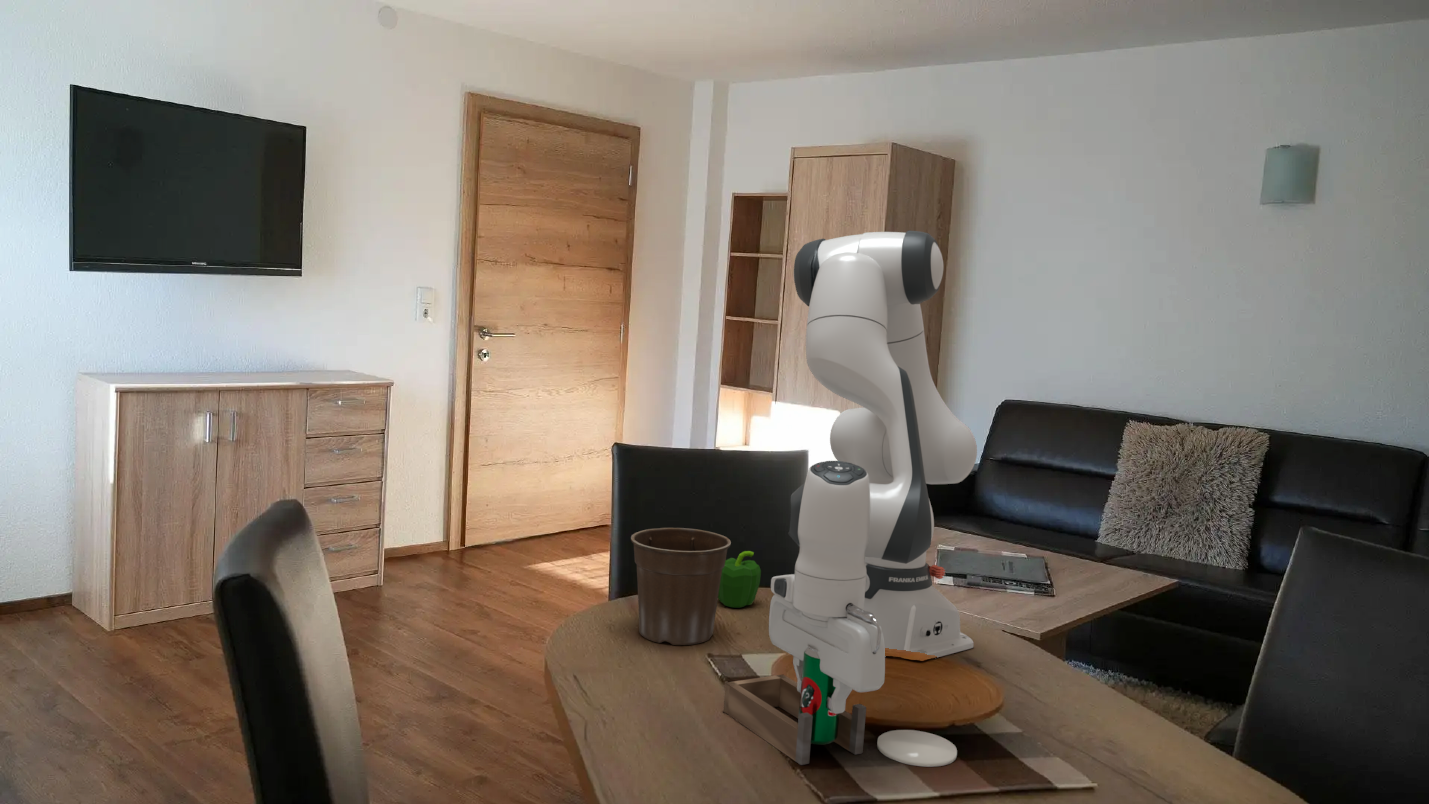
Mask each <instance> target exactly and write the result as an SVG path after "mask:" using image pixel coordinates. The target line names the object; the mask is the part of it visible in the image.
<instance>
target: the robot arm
mask: <svg viewBox="0 0 1429 804" xmlns="http://www.w3.org/2000/svg"><path fill="white" fill-rule="evenodd" d="M943 275H944V260H943V254H942V252H941V249H940V247H939V244H938V241H937V240H936V239H935V238H934V237H933V236H932V235H931V234H930V233H928V232H924V231H921V230H918V231H917V230H907V231H906V232H902V231H901V232H900V231H899V232H898V231H874V232H873V231H870V232H867V231H866V232H863V233H860V234H852V235H845V236H840V237H834V238H830V239H826V238H819V239H816V240H812V241H809V242H807V243H805V244H803V246H802V247H801V248H800V249H799V251H797V253H796V255H795V258H794V265H793V282H794V286H795V291H796V294H797V296H798V298H799V299H800V300H801V301H802V302H803V303H804V305H806V306H807V307H808V311H807V312H808V313H807V320H806V321H807V322H806V329H805V330H806V331H805V355H806V356H805V357H806V358H805V359H806V364H807V366H808V368H809V370H810V373H811V374H812V376H813V377H814V379H816V380H817V381H818V382H819V383H820V384H821V385H822V386H823V387H824V388H826V389H827V390H828V391H830V392H832V393H834V395H837V396H839V397H840V398H843V399H846V400H848V401H849V402H850V401H851V402H853V403H854V404H856V405H858V406H861V407H854V408H848V409H845V410H843V411H842V412H841V413H840V414H839V415H838V416H837V417H836V418H835V420H834V422H833V424H832V426H831V429H830V434H829V443H830V444H829V445H830V448H831V451H832V454H833V456H834V458H835V460H826V461H820V462H817V463H814V464H812V465H811V466H810V467H809V468H808V471H807V473H806V477H805V481H804V483H803V484H801V485H800V486H799V487H798V488H797V489H795V491H793V492H792V494H791V495H790V522H789V531H788V533H787V534H788V535H789V537H790V538H791V539H792V540H793V542H795V544H796V545H797V546H798V547H799V550H798V551H799V552H798V556H797V558H796V561H795V565H794V573H791V574H783V575H776V576H773V577H771V579H770V590H771V593H773V596H772V597H771V600H770V604H769V618H768V635H769V638H770V642H771V644H772V645H774V646H775V647H777V648H779V649H780V650H782V651H784V652H786V653H788V654H789V655H791V656H792V665H793V668H794V673H795V675H796V679H797V681H796V682H797V691H798V692H800V693H801V681H802V669H803V657H804V651H805V650H806V649H807V647H808V646H807V645H808V644H809V645H810V646H811V647H812V648H815V649H818V655H819V657H820V670H821V672H823V673H825V674H826V675H828V676H830V677H832V678H834V679H833V686H834V687H836V689H835V691H834V693H833V695H832V696H827V703H828V704H827V709H828V710H830V711H831V712H833V713H835V714H838V713H843V712H844V711H846V703H847V698H848V697H849V695H850V694H851V692H852V691H854V692H857V693H867V692H874V691H877V690H880V689H881V688H882V686H883V685H884V683H885V678H886V677H885V676H886V675H885V674H886V656H885V648H889V649H897V650H906V651H911V652H920V653H925V654H927V655H935V656H937V658H939V657H944V656H948V655H951V654H954V653H959V652H962V651H966V650H967V651H968V650H970V649H973V648H974V641H973V639H972V638H971V637H970V636H968V635H967V634H965V633H963V632H962V631H961V617H960V613H959V609H958V608H957V607H956V605H954V604H953V602H951V601H950V599H948V598H947V597H946V596H944V594H942V593H941V592H940V591H939V590H938V589H937V588H936V587H935V586H934V585H933V580H932V577H935V578H936V579H937V580H941V579H943V578H944V576H945V575H946V570H945V568H944V567H942V566H938V565H937V564H932V565H929V563H927V551H928V550H929V549H930V547H931V544H932V540H933V538H934V532H935V519H934V512H933V507H932V505H931V501H930V498H929V493H928V487H927V485H948V484H949V485H950V484H953V485H954V484H959V483H960V482H963V481H964V480H965V479H966V478H967V477H968V476H969V475H970V474H971V472H972V470H973V468H974V466H975V464H976V460H977V455H978V446H977V441H976V437H975V436H974V432H972V430H971V428H969V426H967V425H966V424H965V423H964V422H963V421H961V420H960V419H959V418H958V417H956V416H957V415H955V414H954V413H953V412H952V411H951V409H950V408H949V407H948V406H947V404H946V403H945V401H944V400H943V398H942V396H941V394H940V393H939V391H938V390H937V389H938V388H937V387H936V385H935V383H934V380H933V377H932V373H931V370H930V365H929V357H928V352H927V351H928V350H927V345H926V335H925V328H924V327H925V326H924V320H923V319H924V318H923V313H922V306H921V304H922V303H923V302H927V301H928V300H930V299H932V298H933V296H935V295H936V294H937V293H938V292H939V290H940V285H941V282H942V280H943Z"/></svg>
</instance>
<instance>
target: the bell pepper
mask: <svg viewBox="0 0 1429 804" xmlns="http://www.w3.org/2000/svg"><path fill="white" fill-rule="evenodd" d="M754 553H755V552H754V551H751V550H744V551H742V552H741V553H739V554H738V556H737V558H734V557H730V558H727V559H726V560H725V566H724V568H722V574H721V580H720V587H719V593H718V601H719V602H720V603H721V604H723V605H724V606H725V607H729V608H739V609H740V608H743V607H745V606H751V605H752V604H753V603H754V601H755V599H756V596H757V593H758V590H759V587H760V584H761V576H762V570H761V568H760V565H759V564H757V562H756V561H755V560H751V559H747V560H743V559H744V558H745V557H750V558H752V557H753V556H754Z"/></svg>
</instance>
